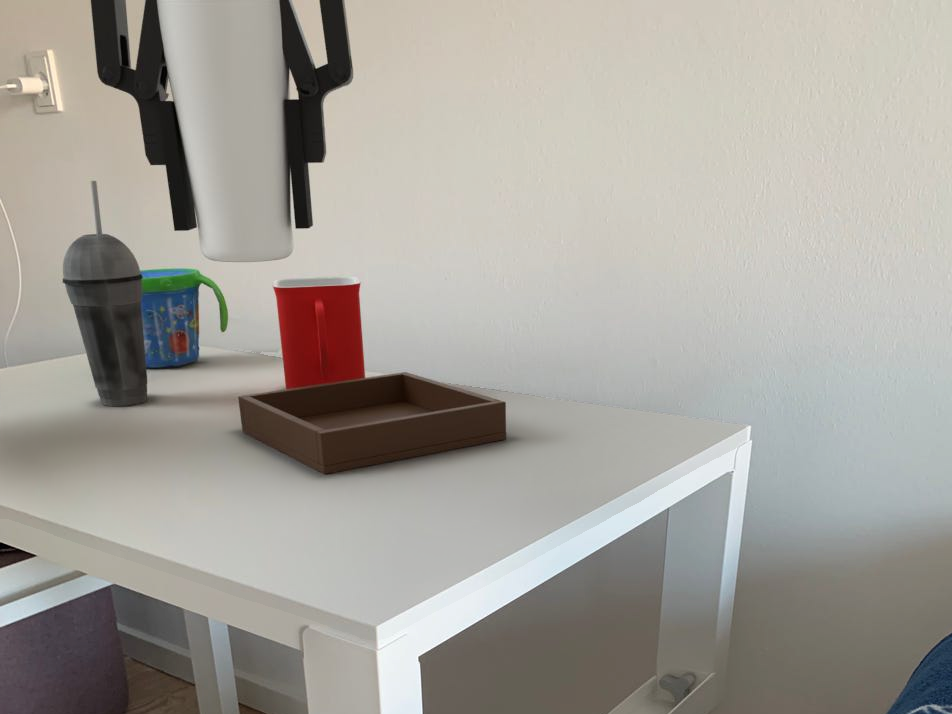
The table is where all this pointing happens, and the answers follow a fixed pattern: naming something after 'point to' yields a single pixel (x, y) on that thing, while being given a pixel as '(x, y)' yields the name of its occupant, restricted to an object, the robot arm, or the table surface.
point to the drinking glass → (232, 122)
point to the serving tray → (371, 420)
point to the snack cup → (174, 315)
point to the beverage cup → (108, 312)
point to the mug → (320, 329)
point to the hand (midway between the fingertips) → (245, 227)
